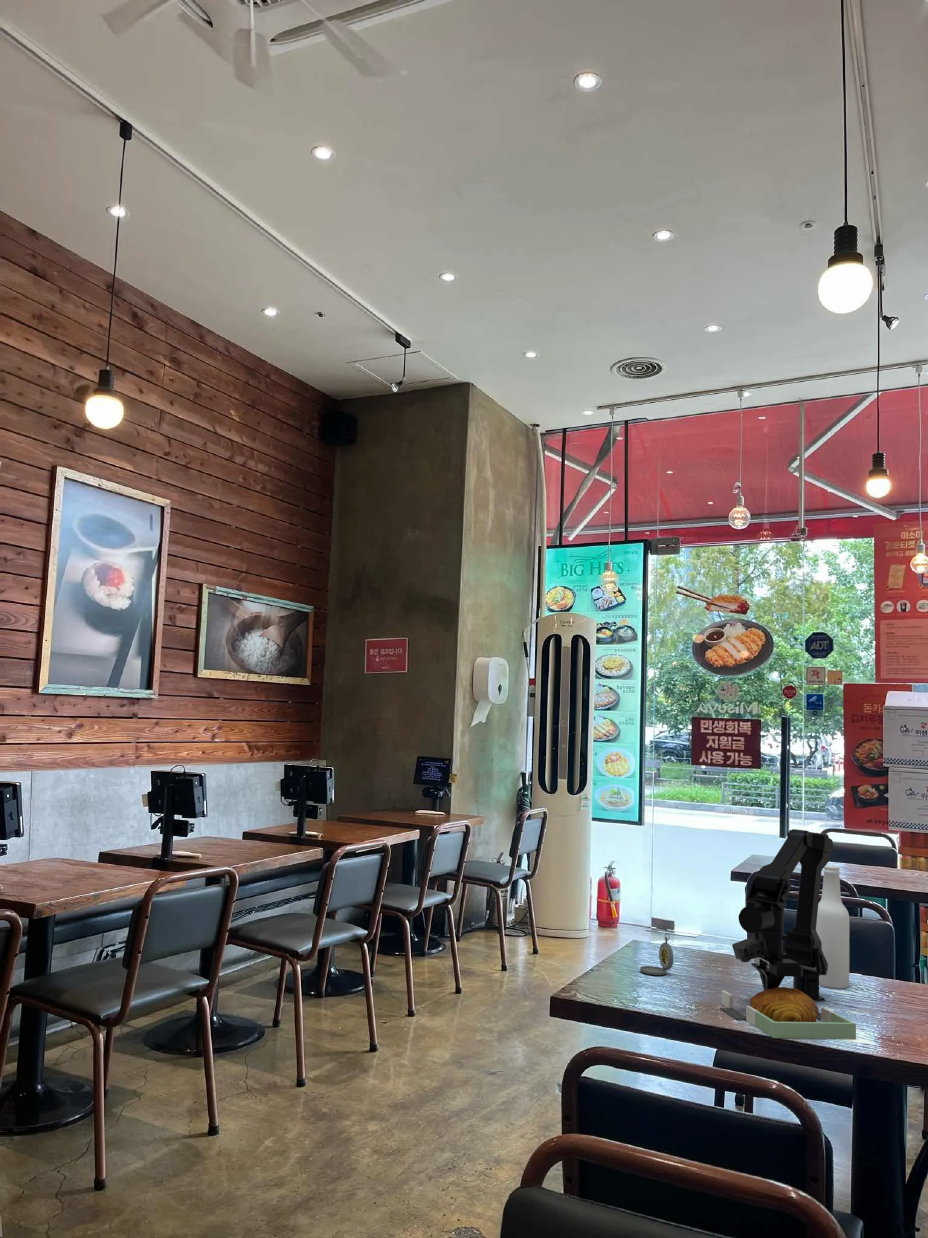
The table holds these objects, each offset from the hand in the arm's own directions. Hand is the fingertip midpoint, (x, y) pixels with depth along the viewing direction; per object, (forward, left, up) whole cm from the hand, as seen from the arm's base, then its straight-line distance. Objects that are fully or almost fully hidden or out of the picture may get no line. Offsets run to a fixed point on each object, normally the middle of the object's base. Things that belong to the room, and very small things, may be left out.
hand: (769, 999), depth 207 cm
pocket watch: (-32, -14, -3) cm, 35 cm away
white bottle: (-24, +30, -3) cm, 38 cm away
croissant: (+7, 0, -3) cm, 8 cm away
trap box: (+7, 0, -3) cm, 8 cm away
